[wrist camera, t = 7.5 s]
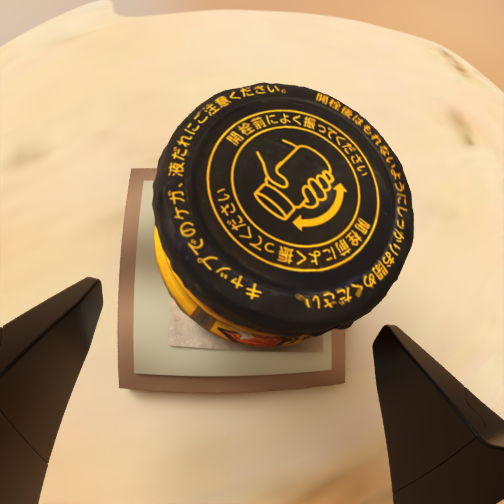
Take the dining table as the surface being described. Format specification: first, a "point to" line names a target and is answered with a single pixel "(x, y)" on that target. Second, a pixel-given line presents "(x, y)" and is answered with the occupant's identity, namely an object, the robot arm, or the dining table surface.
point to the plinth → (189, 358)
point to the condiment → (276, 220)
